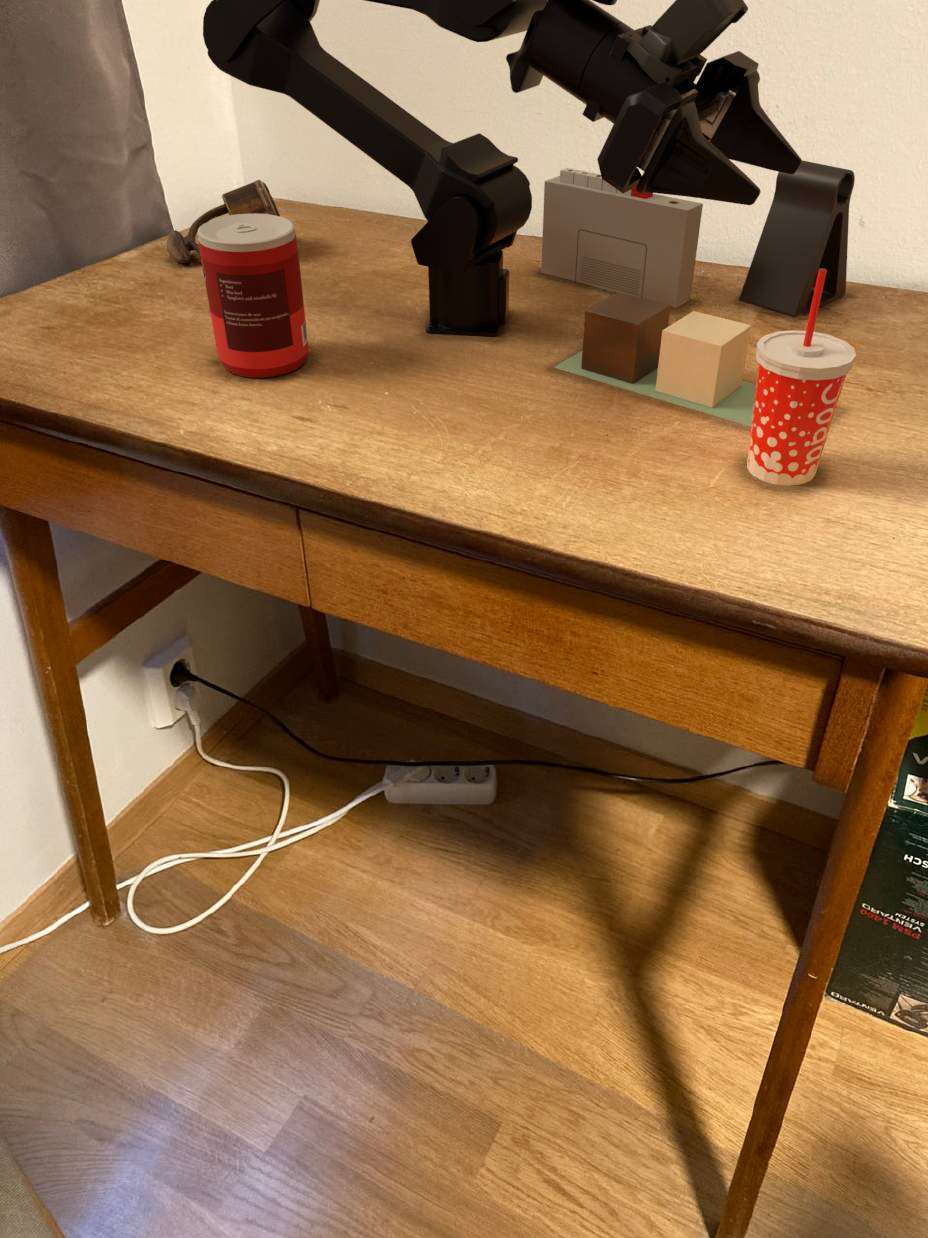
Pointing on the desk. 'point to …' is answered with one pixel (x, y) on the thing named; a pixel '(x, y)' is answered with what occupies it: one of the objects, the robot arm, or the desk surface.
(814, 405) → the beverage cup
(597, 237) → the cassette player
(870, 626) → the desk surface
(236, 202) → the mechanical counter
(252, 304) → the canned food
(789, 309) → the phone stand
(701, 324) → the cream block
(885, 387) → the desk surface
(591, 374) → the line mat
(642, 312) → the walnut block
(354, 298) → the desk surface
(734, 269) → the desk surface
